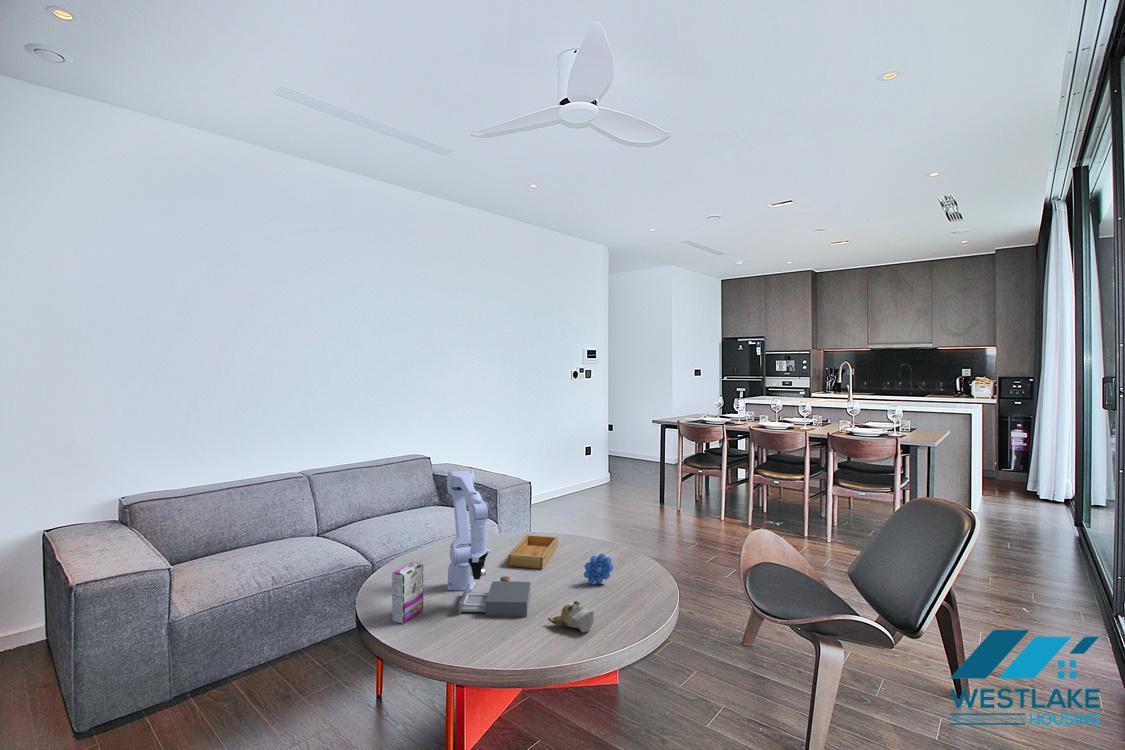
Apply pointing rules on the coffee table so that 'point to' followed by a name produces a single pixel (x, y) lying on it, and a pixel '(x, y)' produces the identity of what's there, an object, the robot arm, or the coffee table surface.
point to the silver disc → (481, 571)
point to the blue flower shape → (598, 569)
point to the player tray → (472, 601)
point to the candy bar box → (407, 592)
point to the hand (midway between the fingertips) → (478, 575)
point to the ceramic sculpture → (574, 617)
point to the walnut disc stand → (505, 578)
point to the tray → (533, 552)
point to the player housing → (508, 599)
